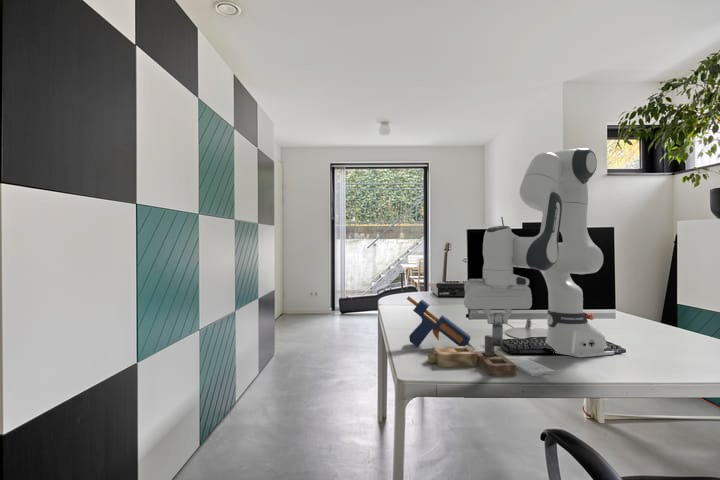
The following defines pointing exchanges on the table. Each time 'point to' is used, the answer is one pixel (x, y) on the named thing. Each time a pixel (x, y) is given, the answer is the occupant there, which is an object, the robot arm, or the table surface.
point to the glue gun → (436, 327)
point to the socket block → (455, 356)
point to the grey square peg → (497, 329)
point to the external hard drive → (532, 367)
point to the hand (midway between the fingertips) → (497, 323)
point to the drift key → (432, 358)
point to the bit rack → (494, 360)
